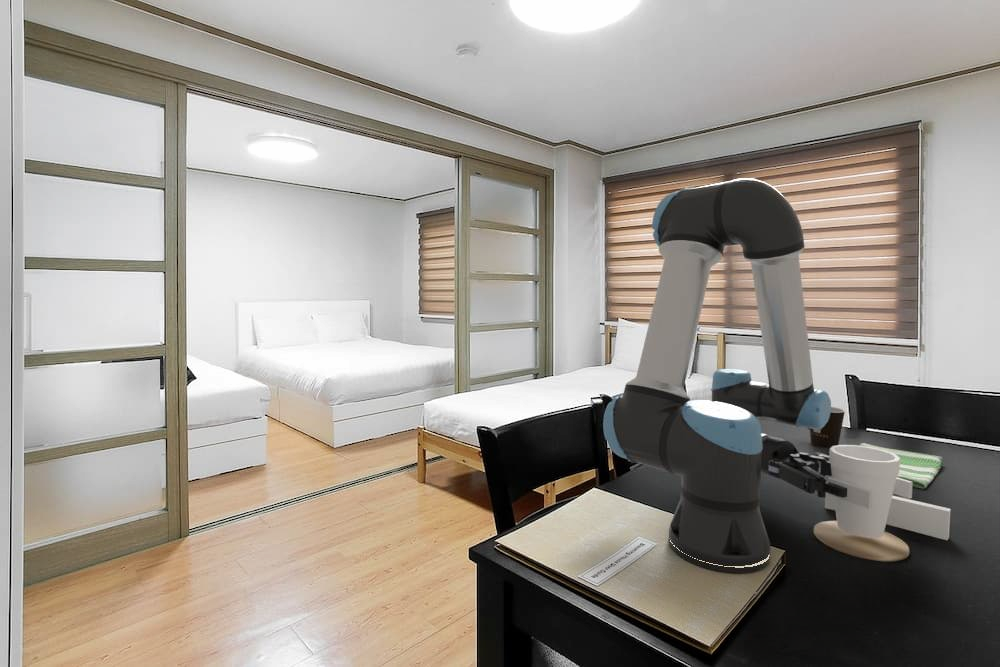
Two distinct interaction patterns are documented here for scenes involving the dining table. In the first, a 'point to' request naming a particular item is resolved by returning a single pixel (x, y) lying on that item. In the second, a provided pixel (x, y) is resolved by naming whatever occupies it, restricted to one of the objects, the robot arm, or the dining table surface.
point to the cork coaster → (861, 543)
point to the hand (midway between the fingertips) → (891, 495)
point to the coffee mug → (829, 430)
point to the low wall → (913, 516)
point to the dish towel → (915, 466)
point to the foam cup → (869, 473)
